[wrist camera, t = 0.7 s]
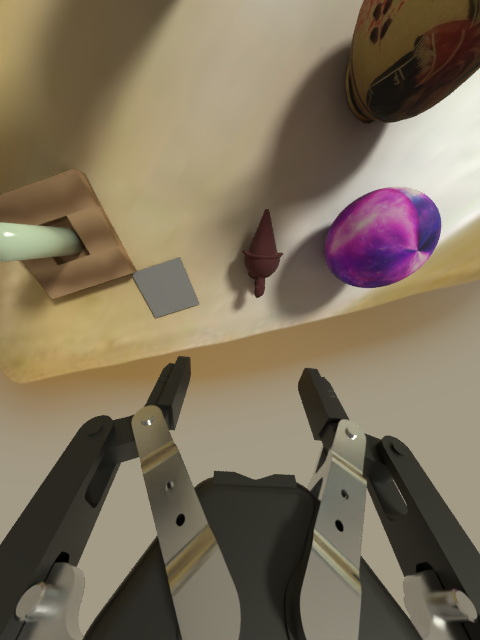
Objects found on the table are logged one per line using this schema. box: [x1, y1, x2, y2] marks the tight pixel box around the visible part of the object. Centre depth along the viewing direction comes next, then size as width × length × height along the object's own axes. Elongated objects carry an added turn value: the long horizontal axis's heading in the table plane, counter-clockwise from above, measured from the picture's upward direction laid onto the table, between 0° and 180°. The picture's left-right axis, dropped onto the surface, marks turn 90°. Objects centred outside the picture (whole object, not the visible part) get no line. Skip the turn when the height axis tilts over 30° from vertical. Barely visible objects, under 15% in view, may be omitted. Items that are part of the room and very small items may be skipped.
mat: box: [131, 257, 199, 318], centre depth 37 cm, size 10×10×1 cm
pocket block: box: [0, 169, 137, 299], centre depth 31 cm, size 16×16×2 cm
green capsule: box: [0, 222, 84, 262], centre depth 26 cm, size 4×4×12 cm
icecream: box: [243, 209, 283, 298], centre depth 33 cm, size 7×7×15 cm
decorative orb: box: [325, 187, 441, 288], centre depth 30 cm, size 15×15×15 cm
